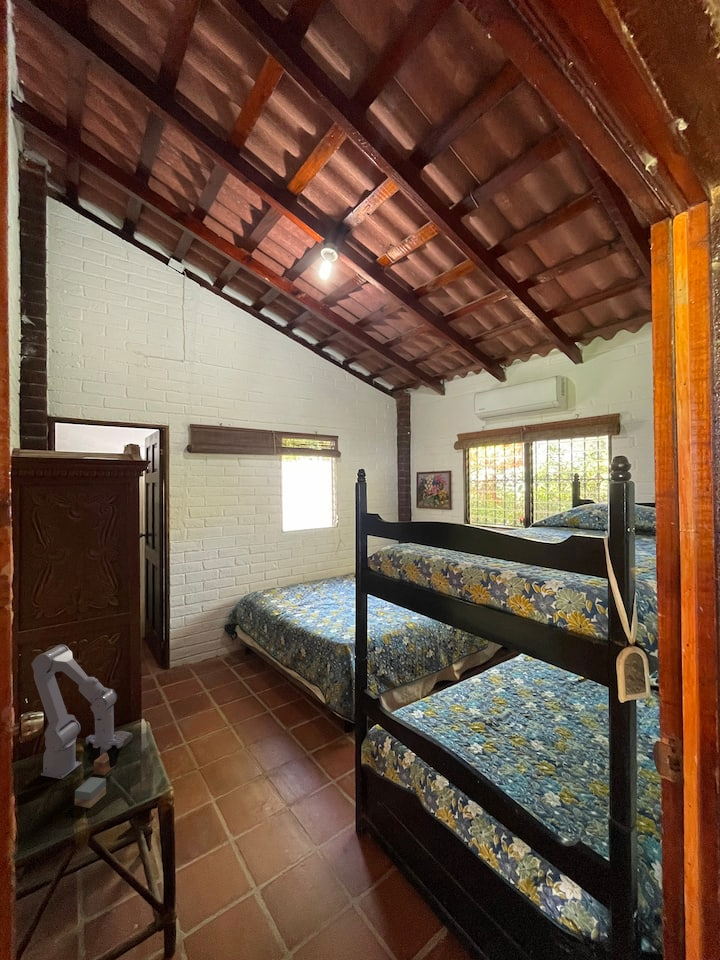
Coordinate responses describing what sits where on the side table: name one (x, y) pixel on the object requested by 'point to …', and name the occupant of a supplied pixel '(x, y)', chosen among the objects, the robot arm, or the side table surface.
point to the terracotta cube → (102, 765)
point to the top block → (90, 788)
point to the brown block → (87, 802)
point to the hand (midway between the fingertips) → (104, 764)
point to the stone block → (122, 735)
